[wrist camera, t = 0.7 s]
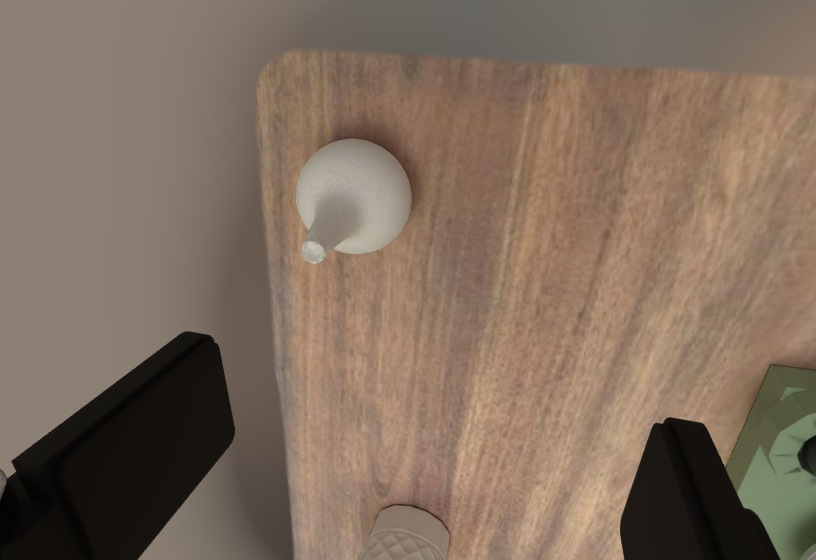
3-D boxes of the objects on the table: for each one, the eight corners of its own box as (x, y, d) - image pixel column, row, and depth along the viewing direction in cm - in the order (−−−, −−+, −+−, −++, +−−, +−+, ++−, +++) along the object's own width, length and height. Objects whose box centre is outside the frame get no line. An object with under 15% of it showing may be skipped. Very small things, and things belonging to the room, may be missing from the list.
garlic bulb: (351, 109, 24) (278, 133, 17) (439, 186, 25) (402, 240, 18) (295, 193, 27) (214, 243, 20) (374, 260, 28) (322, 330, 21)
